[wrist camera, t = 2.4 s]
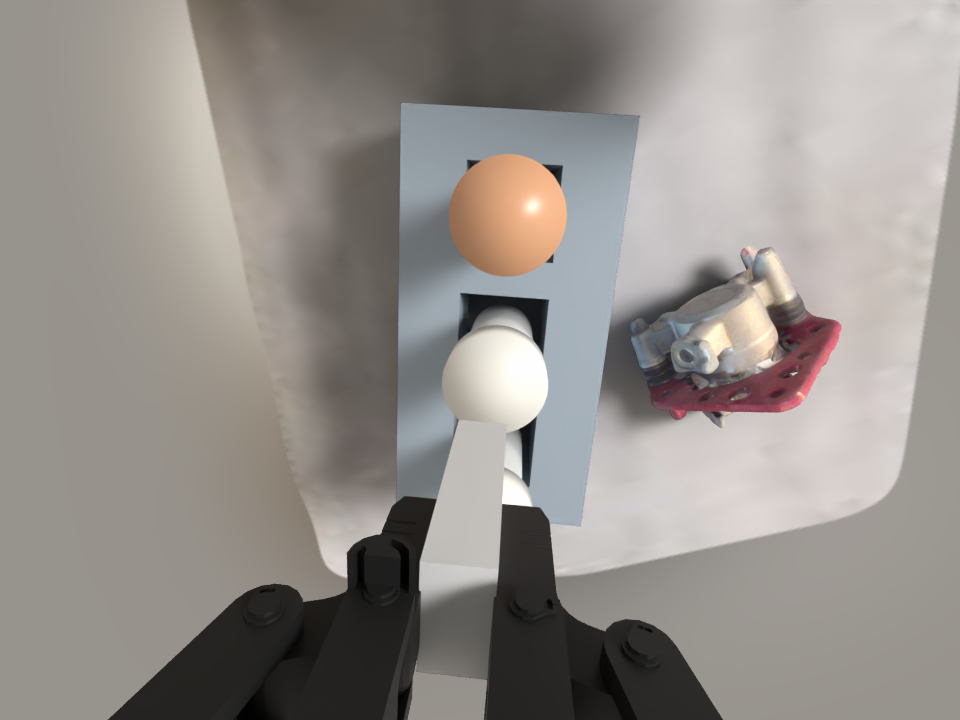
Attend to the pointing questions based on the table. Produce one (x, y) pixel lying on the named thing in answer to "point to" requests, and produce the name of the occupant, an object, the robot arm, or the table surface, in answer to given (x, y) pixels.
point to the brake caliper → (736, 346)
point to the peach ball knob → (507, 215)
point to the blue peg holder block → (509, 286)
